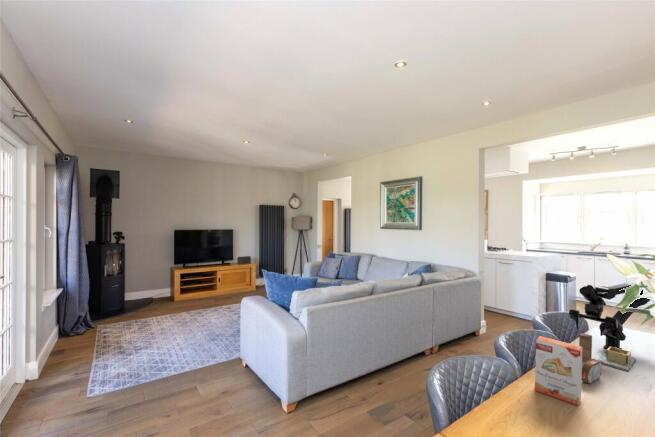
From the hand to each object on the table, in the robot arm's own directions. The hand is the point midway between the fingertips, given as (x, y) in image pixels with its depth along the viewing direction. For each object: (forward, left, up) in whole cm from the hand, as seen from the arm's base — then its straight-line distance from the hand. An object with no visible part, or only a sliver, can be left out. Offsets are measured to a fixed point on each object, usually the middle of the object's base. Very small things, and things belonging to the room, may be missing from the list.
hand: (589, 332), depth 156 cm
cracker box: (+54, +2, -13) cm, 56 cm away
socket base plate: (-6, +10, -12) cm, 17 cm away
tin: (+28, +7, -13) cm, 32 cm away
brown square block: (+6, 0, -12) cm, 14 cm away
